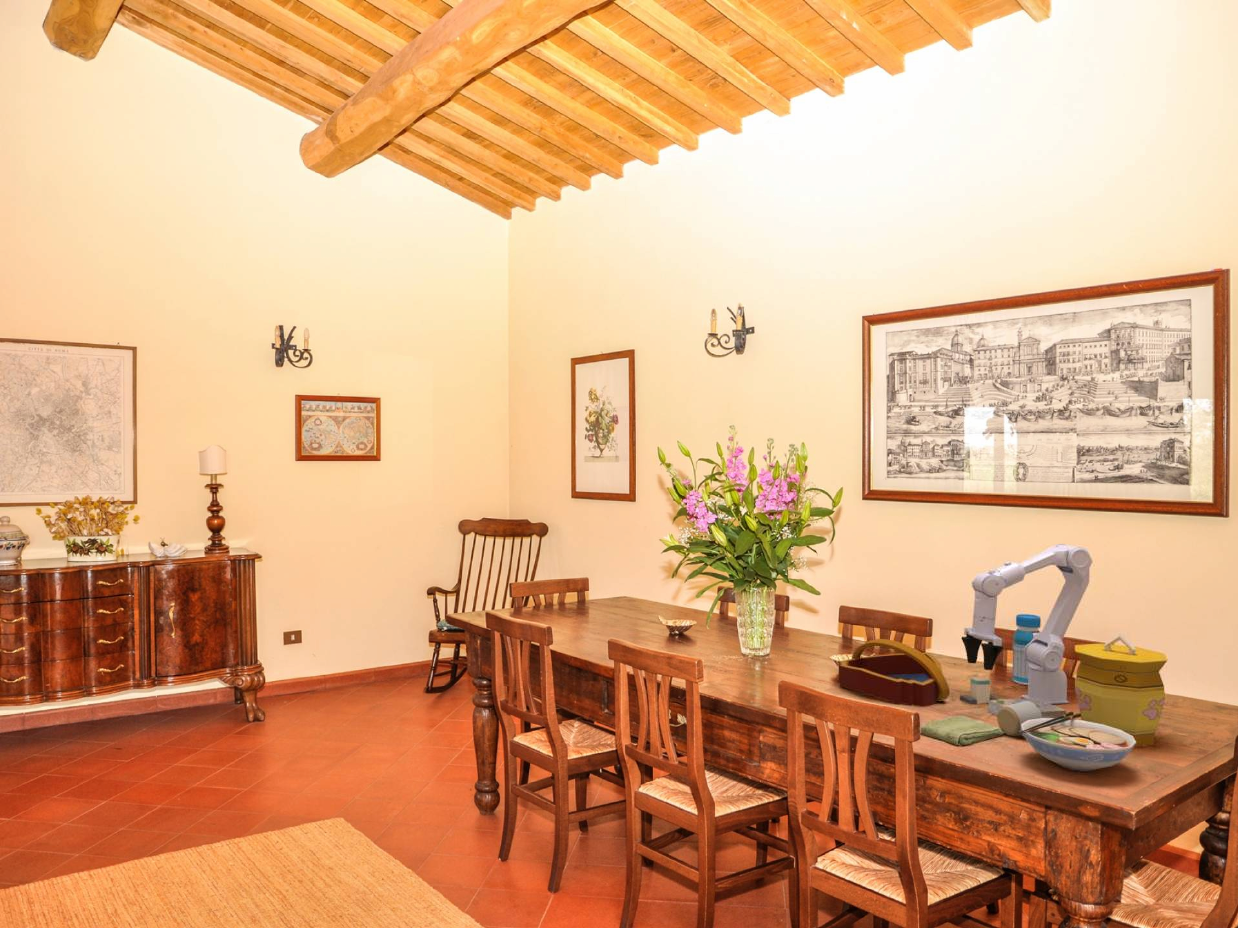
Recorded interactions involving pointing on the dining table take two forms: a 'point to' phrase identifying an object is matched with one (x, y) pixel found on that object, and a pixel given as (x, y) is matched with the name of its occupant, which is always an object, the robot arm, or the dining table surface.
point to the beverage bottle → (1023, 645)
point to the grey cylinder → (1017, 717)
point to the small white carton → (980, 689)
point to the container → (1121, 687)
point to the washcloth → (960, 730)
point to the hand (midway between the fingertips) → (979, 666)
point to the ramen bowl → (1077, 742)
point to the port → (1044, 707)
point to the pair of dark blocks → (972, 700)
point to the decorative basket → (895, 674)
